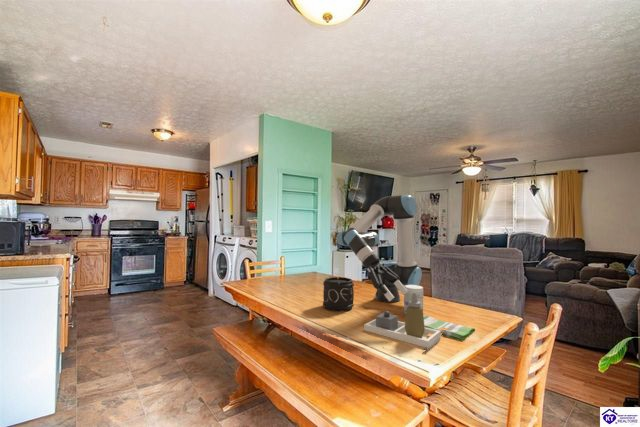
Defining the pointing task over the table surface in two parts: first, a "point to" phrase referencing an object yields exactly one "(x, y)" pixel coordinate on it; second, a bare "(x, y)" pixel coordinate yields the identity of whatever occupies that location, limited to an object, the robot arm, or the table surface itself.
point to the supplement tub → (409, 294)
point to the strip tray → (427, 339)
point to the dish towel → (448, 328)
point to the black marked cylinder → (338, 294)
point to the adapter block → (387, 321)
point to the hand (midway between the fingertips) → (399, 296)
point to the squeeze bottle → (414, 318)
